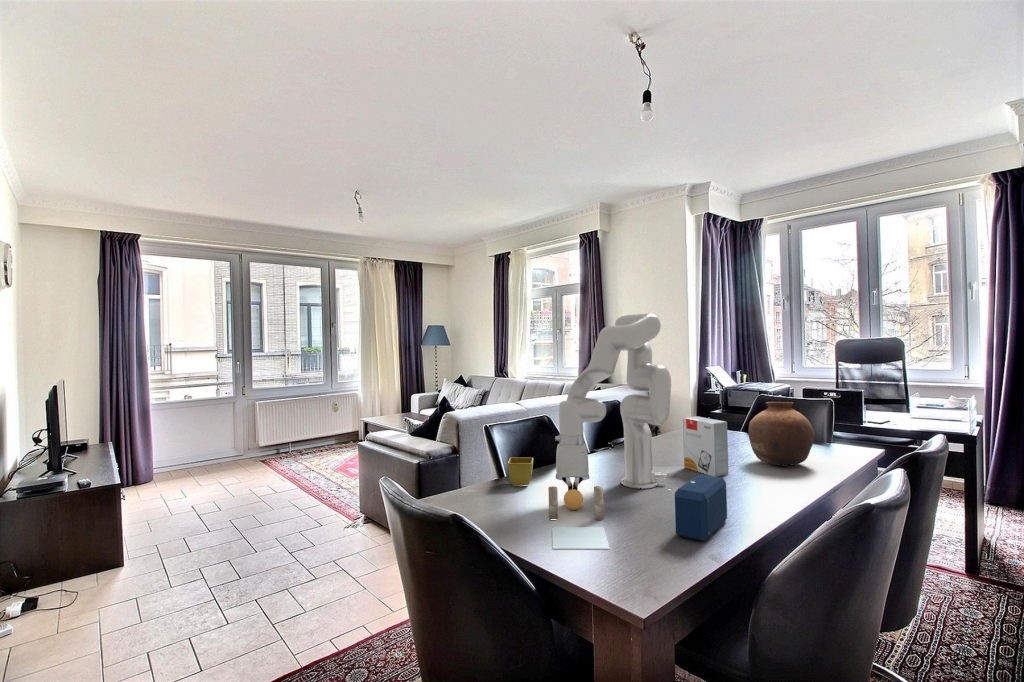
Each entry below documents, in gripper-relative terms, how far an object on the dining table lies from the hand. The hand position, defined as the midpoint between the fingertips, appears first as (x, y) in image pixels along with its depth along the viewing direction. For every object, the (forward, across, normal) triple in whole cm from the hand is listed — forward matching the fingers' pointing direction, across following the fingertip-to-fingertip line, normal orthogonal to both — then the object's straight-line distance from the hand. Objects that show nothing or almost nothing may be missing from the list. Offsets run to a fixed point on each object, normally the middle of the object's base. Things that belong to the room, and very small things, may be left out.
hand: (572, 497), depth 156 cm
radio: (+2, +34, -20) cm, 40 cm away
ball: (-1, 0, -6) cm, 6 cm away
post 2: (+2, +7, -14) cm, 15 cm away
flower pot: (+2, -18, +20) cm, 27 cm away
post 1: (+2, -6, -14) cm, 15 cm away
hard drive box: (+2, +52, +37) cm, 64 cm away
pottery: (+1, +84, +47) cm, 96 cm away
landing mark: (+2, +1, -28) cm, 28 cm away
